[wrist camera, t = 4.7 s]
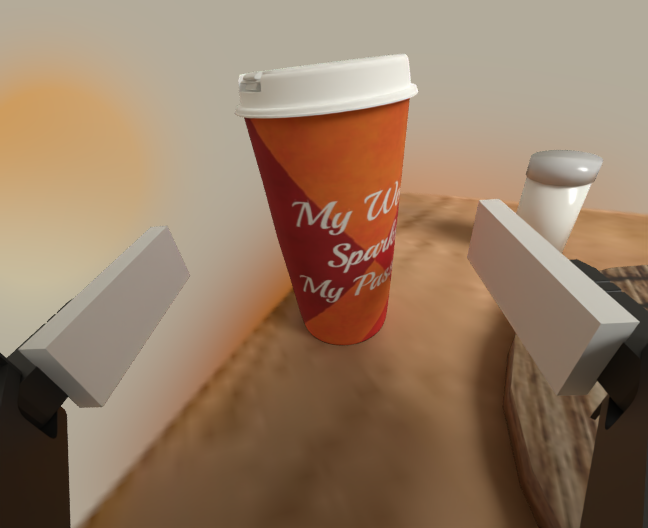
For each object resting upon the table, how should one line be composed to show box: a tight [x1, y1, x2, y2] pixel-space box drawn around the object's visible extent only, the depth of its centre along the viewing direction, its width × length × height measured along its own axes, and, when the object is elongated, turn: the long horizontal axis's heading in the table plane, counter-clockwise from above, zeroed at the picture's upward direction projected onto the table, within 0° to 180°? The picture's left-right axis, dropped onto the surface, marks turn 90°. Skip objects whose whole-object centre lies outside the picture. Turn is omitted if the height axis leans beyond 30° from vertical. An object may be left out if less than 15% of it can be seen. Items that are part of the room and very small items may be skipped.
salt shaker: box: [516, 150, 603, 254], centre depth 21 cm, size 4×4×7 cm
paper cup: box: [235, 54, 418, 345], centre depth 16 cm, size 8×8×14 cm
